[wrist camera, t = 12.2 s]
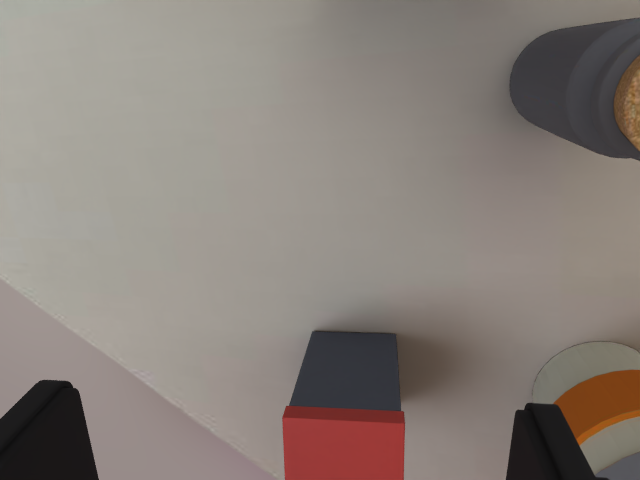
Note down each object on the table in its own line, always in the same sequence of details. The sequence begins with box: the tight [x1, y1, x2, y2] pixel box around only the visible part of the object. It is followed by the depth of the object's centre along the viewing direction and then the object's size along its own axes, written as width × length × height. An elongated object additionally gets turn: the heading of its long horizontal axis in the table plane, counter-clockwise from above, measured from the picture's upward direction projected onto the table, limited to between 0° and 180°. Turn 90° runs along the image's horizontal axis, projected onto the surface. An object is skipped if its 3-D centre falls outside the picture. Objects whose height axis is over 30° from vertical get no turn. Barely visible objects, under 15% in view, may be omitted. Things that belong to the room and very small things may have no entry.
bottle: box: [510, 18, 640, 161], centre depth 24 cm, size 6×6×15 cm
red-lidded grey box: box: [282, 332, 405, 480], centre depth 34 cm, size 12×7×7 cm
